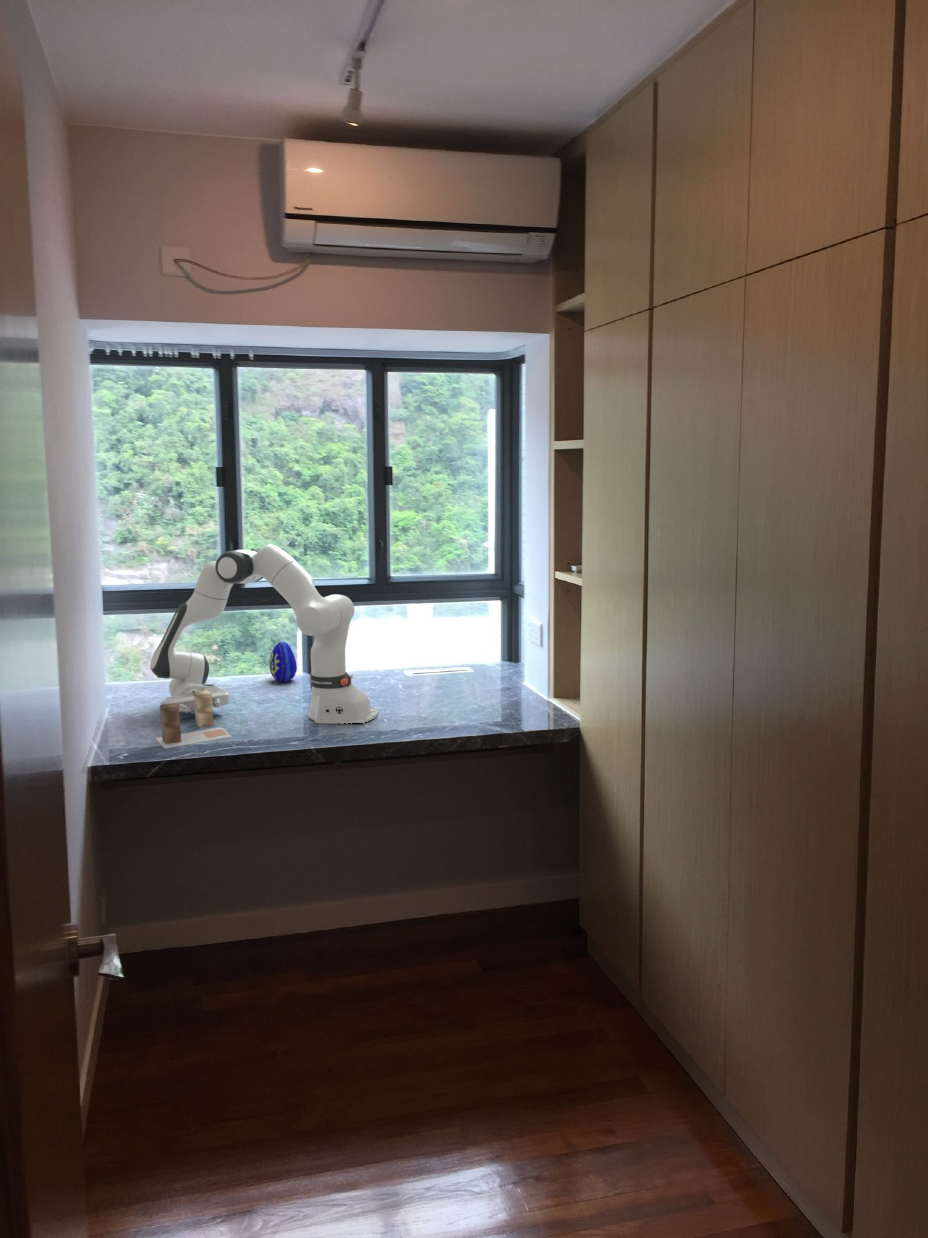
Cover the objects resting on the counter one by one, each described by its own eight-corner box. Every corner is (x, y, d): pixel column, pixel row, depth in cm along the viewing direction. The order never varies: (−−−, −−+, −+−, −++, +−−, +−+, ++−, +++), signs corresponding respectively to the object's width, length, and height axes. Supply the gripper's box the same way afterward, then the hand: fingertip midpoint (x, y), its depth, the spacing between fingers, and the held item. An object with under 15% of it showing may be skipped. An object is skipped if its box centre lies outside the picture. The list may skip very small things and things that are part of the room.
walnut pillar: (177, 737, 286) (174, 702, 284) (181, 741, 282) (178, 706, 280) (162, 740, 284) (159, 705, 281) (166, 744, 280) (163, 708, 278)
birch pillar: (209, 723, 302) (207, 690, 300) (213, 726, 298) (211, 693, 296) (196, 725, 300) (193, 692, 297) (199, 729, 296) (197, 695, 294)
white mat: (220, 728, 296) (220, 726, 296) (231, 738, 287) (231, 736, 287) (155, 740, 286) (155, 738, 286) (164, 750, 277) (164, 748, 277)
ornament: (266, 680, 353) (263, 641, 350) (288, 676, 358) (286, 637, 356) (279, 686, 344) (277, 646, 341) (302, 682, 350) (300, 642, 347)
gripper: (158, 692, 304) (169, 703, 293) (221, 683, 315) (233, 693, 303) (159, 711, 306) (170, 722, 294) (222, 701, 316) (234, 711, 304)
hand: (203, 707), depth 299 cm, fingers open, 8 cm apart
